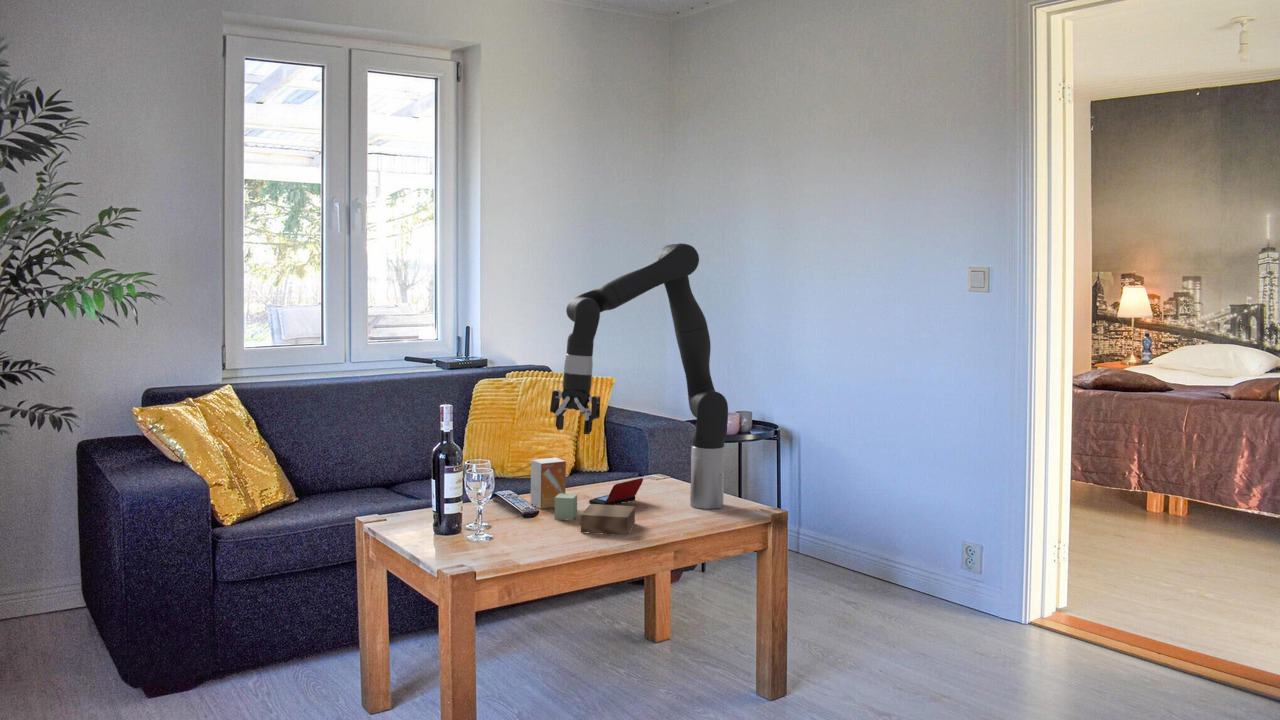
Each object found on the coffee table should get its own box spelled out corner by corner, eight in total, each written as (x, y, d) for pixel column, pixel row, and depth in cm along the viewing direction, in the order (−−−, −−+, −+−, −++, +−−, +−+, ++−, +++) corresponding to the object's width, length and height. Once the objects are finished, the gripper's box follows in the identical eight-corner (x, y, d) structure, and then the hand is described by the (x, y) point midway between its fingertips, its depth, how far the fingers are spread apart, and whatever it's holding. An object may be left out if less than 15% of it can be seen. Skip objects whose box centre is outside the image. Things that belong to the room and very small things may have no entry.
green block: (577, 515, 271) (577, 494, 270) (572, 520, 266) (573, 498, 266) (559, 514, 272) (559, 493, 271) (554, 519, 267) (554, 497, 266)
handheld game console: (617, 496, 295) (617, 472, 295) (644, 503, 288) (644, 477, 287) (587, 503, 286) (587, 478, 285) (614, 510, 279) (614, 484, 278)
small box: (540, 509, 277) (540, 463, 276) (530, 504, 282) (530, 459, 281) (566, 506, 282) (566, 460, 280) (555, 501, 287) (555, 456, 286)
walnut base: (634, 524, 264) (635, 506, 263) (627, 536, 252) (627, 517, 252) (590, 522, 266) (590, 503, 265) (580, 534, 254) (580, 514, 253)
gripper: (608, 374, 266) (603, 434, 268) (563, 368, 273) (558, 426, 274) (593, 375, 260) (588, 437, 261) (548, 369, 266) (543, 429, 268)
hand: (573, 431), depth 268 cm, fingers open, 8 cm apart
